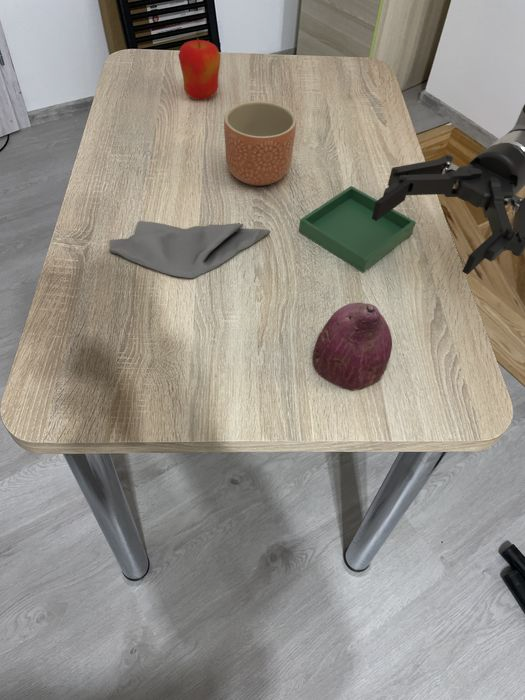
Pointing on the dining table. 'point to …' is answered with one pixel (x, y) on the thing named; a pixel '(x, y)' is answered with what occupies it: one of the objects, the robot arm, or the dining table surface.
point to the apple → (200, 68)
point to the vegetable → (353, 347)
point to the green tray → (355, 228)
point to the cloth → (184, 246)
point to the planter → (259, 141)
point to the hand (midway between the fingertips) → (420, 237)
